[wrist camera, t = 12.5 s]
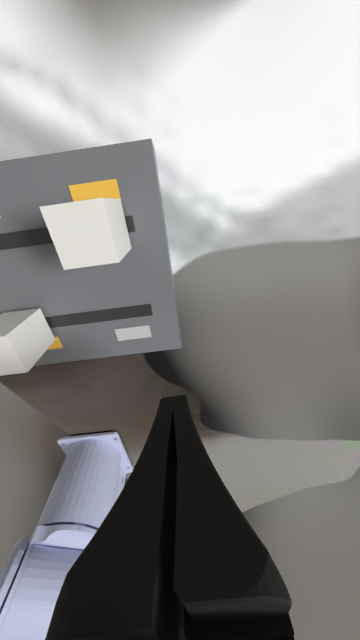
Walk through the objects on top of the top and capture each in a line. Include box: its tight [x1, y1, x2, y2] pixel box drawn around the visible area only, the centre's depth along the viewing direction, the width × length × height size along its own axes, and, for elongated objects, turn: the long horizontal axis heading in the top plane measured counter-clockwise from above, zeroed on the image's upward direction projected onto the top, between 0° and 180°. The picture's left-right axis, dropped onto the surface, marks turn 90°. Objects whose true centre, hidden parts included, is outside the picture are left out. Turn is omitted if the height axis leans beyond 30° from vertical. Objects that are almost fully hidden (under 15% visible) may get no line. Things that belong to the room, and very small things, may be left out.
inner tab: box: [0, 308, 55, 376], centre depth 16 cm, size 3×3×4 cm
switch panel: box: [0, 139, 182, 366], centre depth 17 cm, size 15×16×2 cm
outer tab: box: [39, 198, 131, 270], centre depth 12 cm, size 3×3×4 cm
